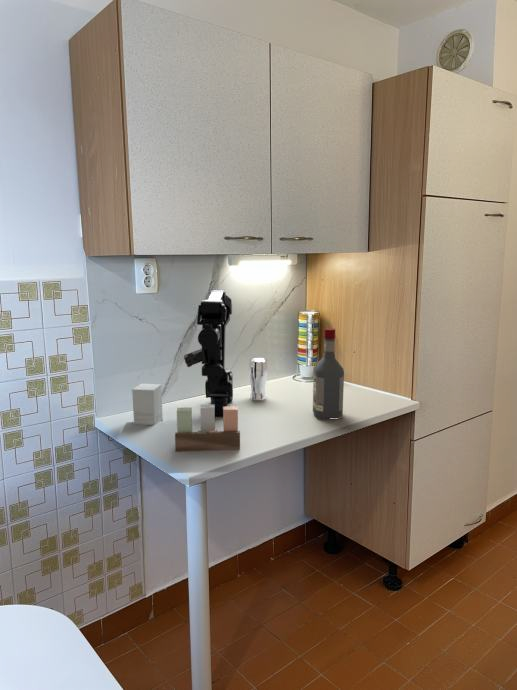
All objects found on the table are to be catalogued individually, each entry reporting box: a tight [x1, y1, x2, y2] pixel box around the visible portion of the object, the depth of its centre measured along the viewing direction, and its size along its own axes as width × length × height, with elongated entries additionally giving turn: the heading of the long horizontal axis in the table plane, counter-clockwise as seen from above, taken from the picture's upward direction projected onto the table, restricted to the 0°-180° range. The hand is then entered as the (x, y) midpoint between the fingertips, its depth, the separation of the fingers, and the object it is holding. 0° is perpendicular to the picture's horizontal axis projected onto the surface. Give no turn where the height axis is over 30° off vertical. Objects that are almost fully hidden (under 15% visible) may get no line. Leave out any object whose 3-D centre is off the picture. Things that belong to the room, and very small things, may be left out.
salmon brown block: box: [222, 405, 239, 431], centre depth 154 cm, size 3×4×11 cm
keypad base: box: [174, 429, 241, 452], centre depth 154 cm, size 8×18×6 cm, turn 95°
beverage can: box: [225, 368, 234, 404], centre depth 199 cm, size 7×7×12 cm
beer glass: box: [248, 357, 268, 402], centre depth 203 cm, size 7×7×15 cm
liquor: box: [312, 327, 345, 420], centre depth 181 cm, size 9×9×30 cm
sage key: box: [176, 406, 193, 432], centre depth 152 cm, size 3×4×11 cm
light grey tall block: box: [199, 404, 216, 432], centre depth 155 cm, size 3×4×11 cm
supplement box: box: [131, 383, 164, 426], centre depth 174 cm, size 7×7×13 cm
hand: (212, 391), depth 166 cm, fingers closed
